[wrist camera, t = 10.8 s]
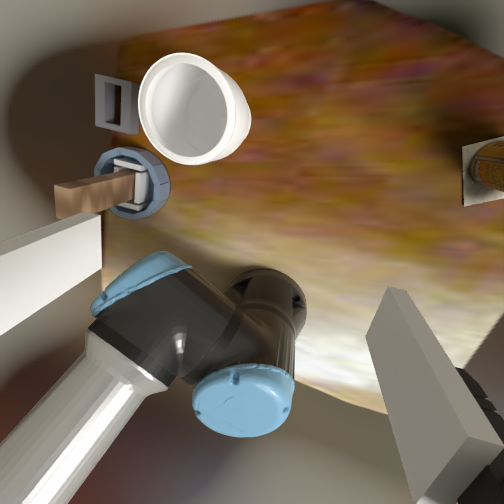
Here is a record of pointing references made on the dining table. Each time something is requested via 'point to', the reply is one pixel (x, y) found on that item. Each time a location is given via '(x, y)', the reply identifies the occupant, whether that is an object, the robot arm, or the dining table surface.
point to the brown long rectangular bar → (94, 193)
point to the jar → (192, 109)
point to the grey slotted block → (107, 104)
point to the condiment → (483, 171)
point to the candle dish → (138, 180)
